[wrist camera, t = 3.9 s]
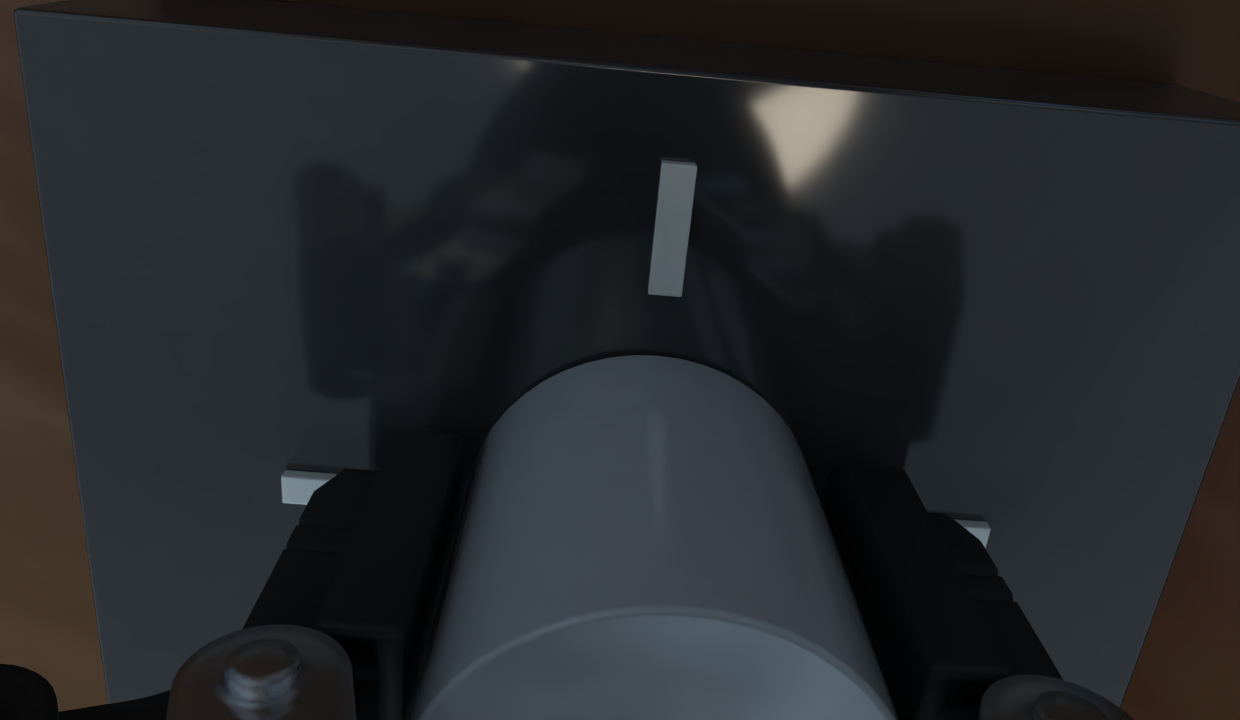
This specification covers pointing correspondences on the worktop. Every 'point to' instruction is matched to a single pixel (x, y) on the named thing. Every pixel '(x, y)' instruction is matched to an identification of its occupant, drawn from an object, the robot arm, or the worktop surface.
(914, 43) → the worktop surface
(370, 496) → the robot arm
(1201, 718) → the worktop surface
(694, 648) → the burner knob
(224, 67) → the panel
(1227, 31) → the worktop surface
